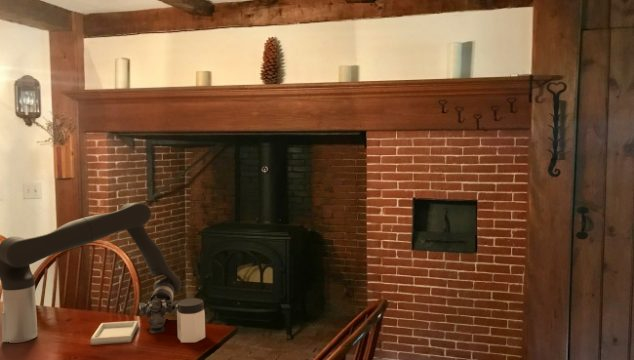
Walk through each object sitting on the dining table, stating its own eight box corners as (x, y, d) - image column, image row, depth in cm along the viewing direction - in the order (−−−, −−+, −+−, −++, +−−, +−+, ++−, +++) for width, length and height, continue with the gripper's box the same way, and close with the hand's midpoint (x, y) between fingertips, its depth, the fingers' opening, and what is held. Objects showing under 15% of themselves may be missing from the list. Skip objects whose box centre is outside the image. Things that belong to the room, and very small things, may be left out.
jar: (208, 340, 168) (207, 303, 167) (182, 345, 164) (181, 307, 164) (199, 331, 176) (198, 296, 175) (175, 335, 172) (174, 300, 171)
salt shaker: (155, 334, 173) (153, 299, 172) (144, 331, 177) (143, 296, 176) (169, 329, 178) (168, 295, 177) (159, 326, 181) (157, 292, 180)
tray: (90, 344, 165) (90, 338, 165) (101, 328, 179) (101, 323, 179) (130, 342, 167) (130, 336, 167) (138, 326, 181) (137, 320, 181)
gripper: (141, 289, 189) (132, 304, 172) (181, 287, 192) (176, 302, 175) (142, 309, 190) (133, 326, 173) (182, 307, 192) (177, 324, 175)
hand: (155, 314), depth 174 cm, fingers closed on salt shaker, 3 cm apart
